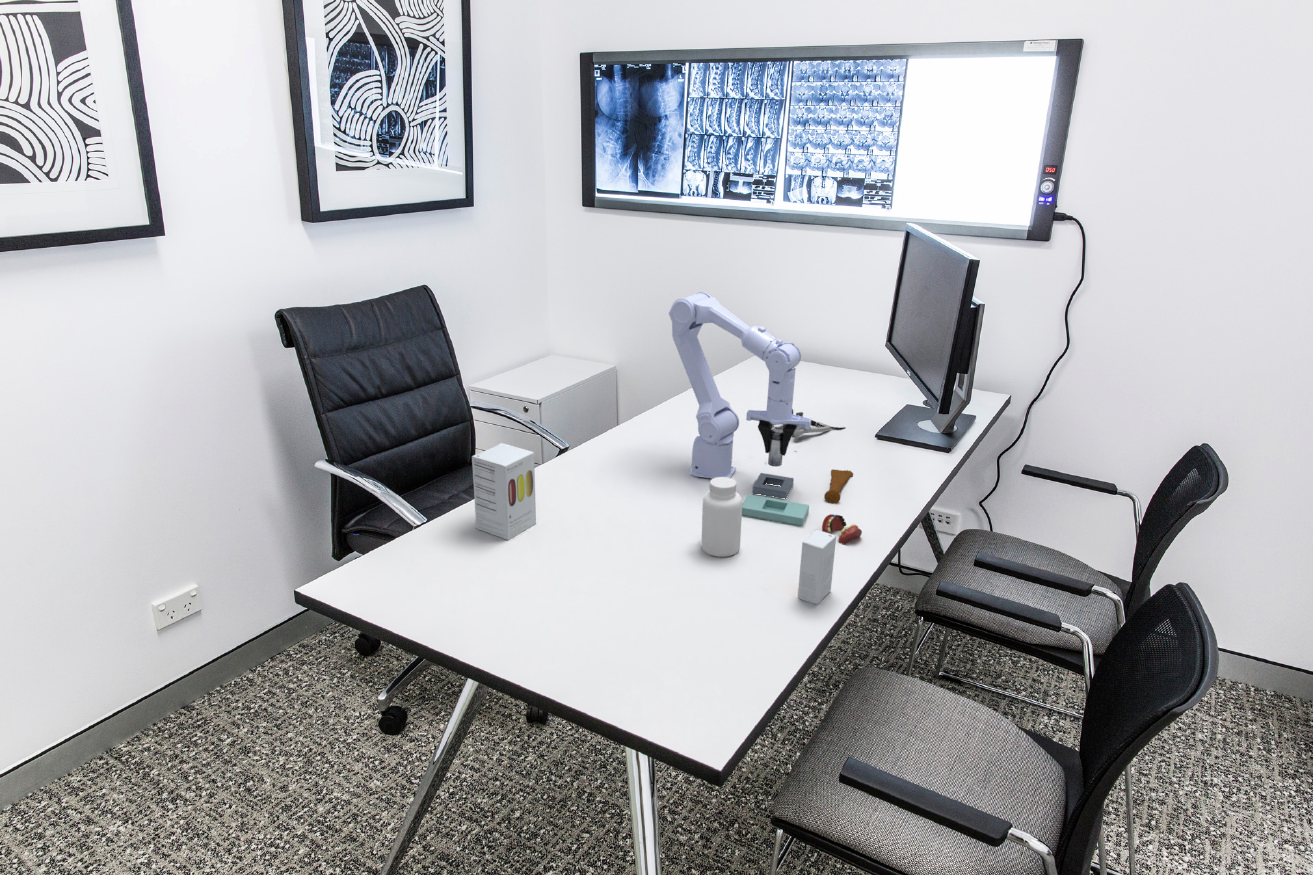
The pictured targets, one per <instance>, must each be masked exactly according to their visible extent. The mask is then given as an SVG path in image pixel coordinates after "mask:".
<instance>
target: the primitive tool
mask: <svg viewBox="0 0 1313 875" xmlns="http://www.w3.org/2000/svg"><path fill="white" fill-rule="evenodd" d="M853 476H854V473H853V471H851V470H848V469H846V470H842V469H841V470H840V469H831V470H830V477H831V479H830V483H829V489H828V490H827V491H826V492H825V493H824V495H823V496H824V501H825V502H826V503H829V502H831V503H830V504H837V503H839V502H840V500H841V495H840V493H841V490H843V488H844V486H845V485H846V484H847V483H848V481H849V480H850V479H851V478H853Z"/></svg>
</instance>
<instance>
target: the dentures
mask: <svg viewBox="0 0 1313 875" xmlns="http://www.w3.org/2000/svg"><path fill="white" fill-rule="evenodd" d="M834 530H835V531H839V530H841V531H839V532H838V534H837V536H838V542H839V543H840V544H841V543H842V544H841V545H844V544H846V543H849V542H852V541H854V540H856V539H860V537H861V536H862V533H863V531H862V529H860V527H859V526H858V525H857V524H856V523H850V524H848V525H847V522H846V520H845V518H844V516H843V515H841V514H828V515H826V516H825V518H824V519H823V521H822V525H821V531H823V532H826V533H829V534H832V532H834Z"/></svg>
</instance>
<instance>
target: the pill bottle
mask: <svg viewBox="0 0 1313 875" xmlns="http://www.w3.org/2000/svg"><path fill="white" fill-rule="evenodd" d="M737 484H738V483H737V481H736V480H735V479H733V478H731V477H730V478H728V477H716V478H713V479H710V481H709V490H708V491H707V492H706V493H705V494H704V495H703V498H702V511H701V512H702V513H701V549H702V550H703V551H704V553H707V554H708V555H710V556H713V557H720V558H721V557H724V558H725V557H730V556H731V557H732V556H733V555H735V554H738V552H739V551H740V549H741V548H740V547H741V536H742V535H741V533H742V519H743V518H742V517H743V516H742V503H743V498H742V496H741V495H740V494H739V493H738V492H737V486H738V485H737Z"/></svg>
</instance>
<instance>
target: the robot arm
mask: <svg viewBox="0 0 1313 875" xmlns="http://www.w3.org/2000/svg"><path fill="white" fill-rule="evenodd" d="M668 316H669V319H670V320H671V329H672V330H671V334H672V335H671V336H672V340H673V341H674V344H675V347H676V350H677V353H678V355H679V358H680V360H681V362H682V365H683V368H684V369H685V373H686V376H687V377H688V380H689V383H690V385H691V389H692V390H693V393H694V395H695V398H696V401H697V403H698V409H697V413H696V416H695V418H696V420H697V426H698V427H697V429H698V430H697V432H698V434H699V435H697V436H695V438H694V441H693V444H692V450H691V451H692V452H691V472H690V475H691V476H694V477H699V478H700V477H701V478H704V479H705V478H706V479H710V480H712V479H713V478H716V477H728V478H731V477H732V476H733V474H734V472H735V471H737V470H736V469H737V468H736V466H733V465H732V463H733V449H734V448H733V447H734V436H735V435H734V434H735V432H736V431H737V430H739V427H740V418H739V416H738V414H737V412H735V410H734V409H733V408H732V407H731V404H730V402H729V401H727V400H726V399H724V398H723V397H721V394H720V391H719V389H718V387H717V384H716V381H715V379H714V376H713V374H712V371H711V369H710V366H709V362H708V360H707V359H706V355H705V353H704V351H703V348H702V345H701V342H700V341H699V338H698V335H699V333H700V331H701V329H702V326H703V325H704V324H714V325H716V326H717V327H719V328H721V329H722V330H724V331H726V332H728V333H729V334H731V335H733V336H734V337H736V338H738V339H739V340H740V341H741V342H740V343H741V345H742V347H743V348H744V349H745V350H747V351H748V352H750V353H752V355H754V356H756V357H757V358H758V359H760V360H762V361H763V362H764V363H765V366H766V368H767V370H768V385H767V400H766V410H754V409H753V410H752V409H748V411H747V412H746V415H745V416H746V418H745V419H746V421H749V422H750V421H757V422H758V425H757V429H758V431H759V432H760V435H761V438H762V442H763V445H764V450H765V451H764V453H765V454H769V444H770V431H771V430H773V428H772V424H777V425H779V426H780V425H782V426H783V425H786V426H785V427H784V429H783V428H782V430H783V446H782V455H783V456H782V457H784V456H786V454H787V450H788V448H789V444H790V442H791V439H792V435H793V433H794V432H795V430H796V428H797V427H803V428H805V429H809V428H810V427H812V425H811V420H812V418H809V417H804V416H803V417H801V416H798V415H796V414H794V413H793V414H792V409H793V401H794V393H795V392H794V391H795V380H796V379H795V378H796V367H797V366H798V365H799V364H800V362H801V358H802V353H801V351H800V349H799V348H798V346H797V345H796V344H795V343H793V342H789V341H786V342H783V339H781V338H777V337H776V336H773V335H772V334H771V333H769V332H768V331H766V330H767V329H766V327H764V326H763V325H761V326H759V325H753V326H749V325H748V324H747V323H745V322H744V321H742V319H740V318H739V317H738V316H736V315H735V314H734V313H732V312H731V311H730V310H729V309H726V307H724V306H723V305H722V304H720V302H719V301H718V299H717V298H715V297H714V296H712V295H710V294H709V293H708V292H704V291H698V292H697V293H695V294H692V295H689V296H686V297H680V298H678V299H676V300H674V302H673V303H672V305H671V308H670V310H669V312H668ZM777 425H776V426H777Z"/></svg>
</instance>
